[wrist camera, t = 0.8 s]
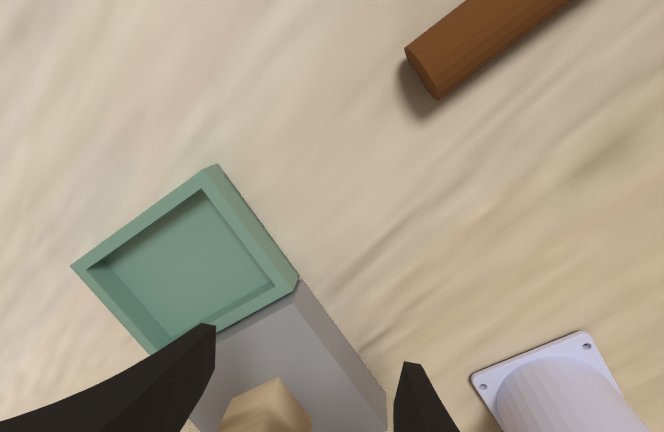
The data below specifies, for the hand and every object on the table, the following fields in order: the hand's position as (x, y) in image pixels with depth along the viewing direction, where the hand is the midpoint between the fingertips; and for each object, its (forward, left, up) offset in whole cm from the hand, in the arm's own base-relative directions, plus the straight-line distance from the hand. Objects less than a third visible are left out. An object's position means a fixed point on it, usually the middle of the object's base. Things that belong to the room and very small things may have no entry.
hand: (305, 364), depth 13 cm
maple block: (-6, +9, -7) cm, 13 cm away
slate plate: (-6, +9, -10) cm, 15 cm away
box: (+4, +9, -10) cm, 14 cm away
